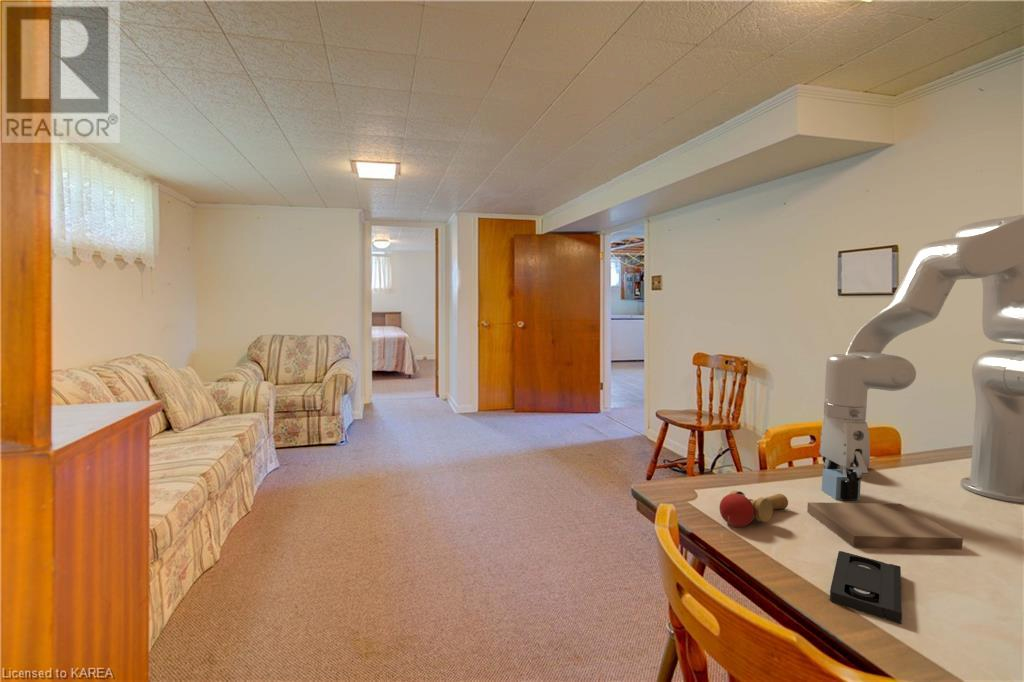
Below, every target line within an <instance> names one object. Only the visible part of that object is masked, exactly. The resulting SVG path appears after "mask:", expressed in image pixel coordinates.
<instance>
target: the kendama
mask: <svg viewBox="0 0 1024 682" xmlns="http://www.w3.org/2000/svg"><path fill="white" fill-rule="evenodd" d="M788 506H789V500H788V498H787V497H786V495H784V494H782V493H776V494H774V495H769V496H765V497H762V496H761V497H758V498H757V499H752V498H748V497H746V495H745V493H744V492H742V491H741V490H732V491H730V492H729V494H726V495H725V496H723V498H722V499H721V500H720V503H719V513H720V516H721V517H722V519H723V520H724V521H725V522H726V523H727V524H729V525H730V526H732V527H734V528H737V527H738V528H742V527H746V526H747V525H750V524H751V523H752V521H753V520H754V518H756V520H758V521H759V522H762V523H766V522H769V521H770V519H771V518H772V515H773V510H785V509H786V508H787V507H788Z"/></svg>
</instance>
